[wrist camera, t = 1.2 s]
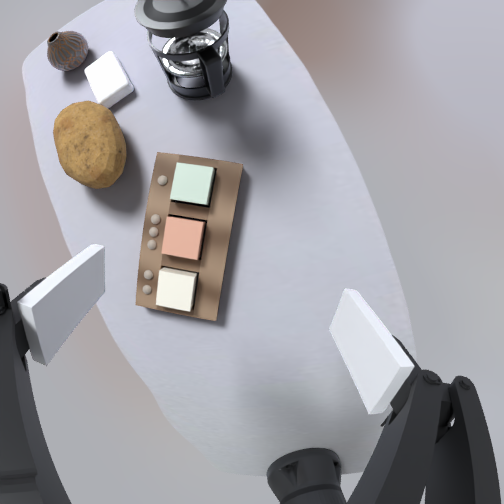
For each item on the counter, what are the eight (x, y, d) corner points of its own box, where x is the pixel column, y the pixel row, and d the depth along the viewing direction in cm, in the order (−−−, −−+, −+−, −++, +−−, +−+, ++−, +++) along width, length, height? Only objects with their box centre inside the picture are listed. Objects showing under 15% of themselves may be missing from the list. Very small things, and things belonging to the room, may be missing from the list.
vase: (76, 79, 32) (50, 58, 23) (55, 72, 31) (29, 53, 22) (100, 47, 31) (79, 22, 22) (77, 41, 30) (56, 19, 22)
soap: (136, 91, 33) (129, 82, 30) (106, 112, 33) (97, 105, 30) (117, 56, 32) (111, 48, 29) (90, 76, 32) (82, 68, 29)
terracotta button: (200, 256, 35) (197, 259, 32) (167, 250, 35) (161, 253, 32) (206, 222, 35) (203, 222, 32) (172, 216, 34) (166, 216, 31)
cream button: (193, 304, 36) (189, 311, 33) (161, 298, 36) (155, 304, 33) (197, 272, 35) (194, 277, 32) (165, 266, 35) (159, 270, 32)
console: (217, 314, 37) (215, 321, 35) (141, 299, 37) (135, 305, 34) (242, 167, 35) (243, 163, 33) (162, 156, 34) (156, 151, 32)
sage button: (208, 205, 34) (206, 204, 31) (175, 200, 34) (169, 198, 31) (215, 171, 34) (213, 167, 31) (181, 166, 34) (176, 162, 31)
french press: (156, 65, 32) (100, -37, 10) (211, 38, 32) (196, -75, 9) (190, 120, 34) (137, 15, 11) (250, 89, 34) (264, -31, 11)
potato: (102, 209, 35) (72, 208, 27) (63, 141, 33) (33, 130, 25) (153, 164, 35) (132, 152, 27) (108, 99, 33) (84, 78, 25)
